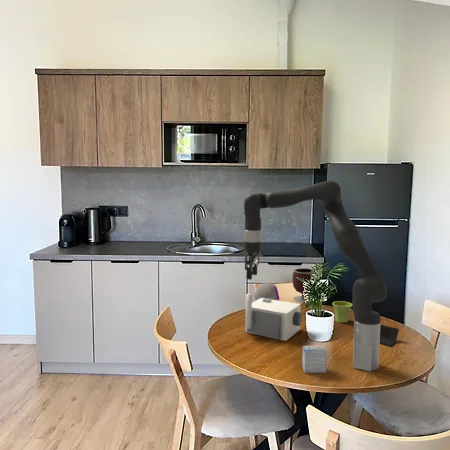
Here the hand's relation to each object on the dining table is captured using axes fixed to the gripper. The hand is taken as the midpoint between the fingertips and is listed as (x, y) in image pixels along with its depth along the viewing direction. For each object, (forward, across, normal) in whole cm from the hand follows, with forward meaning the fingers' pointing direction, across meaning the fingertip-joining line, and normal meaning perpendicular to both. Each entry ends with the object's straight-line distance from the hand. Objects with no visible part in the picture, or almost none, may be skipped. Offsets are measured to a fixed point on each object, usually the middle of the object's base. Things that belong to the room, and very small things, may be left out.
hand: (251, 277), depth 188 cm
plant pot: (+27, +34, -37) cm, 57 cm away
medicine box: (+26, -25, -31) cm, 48 cm away
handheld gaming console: (+26, +14, -55) cm, 62 cm away
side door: (+25, -1, -5) cm, 26 cm away
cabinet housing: (+27, +9, -8) cm, 29 cm away
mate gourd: (+27, +64, -14) cm, 71 cm away
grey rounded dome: (+27, +37, +2) cm, 46 cm away
